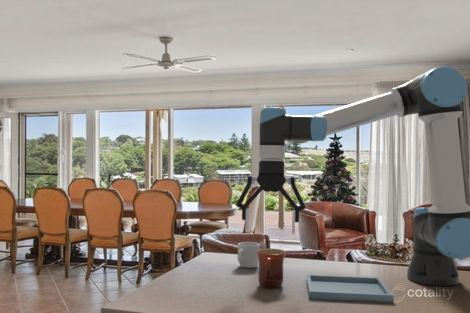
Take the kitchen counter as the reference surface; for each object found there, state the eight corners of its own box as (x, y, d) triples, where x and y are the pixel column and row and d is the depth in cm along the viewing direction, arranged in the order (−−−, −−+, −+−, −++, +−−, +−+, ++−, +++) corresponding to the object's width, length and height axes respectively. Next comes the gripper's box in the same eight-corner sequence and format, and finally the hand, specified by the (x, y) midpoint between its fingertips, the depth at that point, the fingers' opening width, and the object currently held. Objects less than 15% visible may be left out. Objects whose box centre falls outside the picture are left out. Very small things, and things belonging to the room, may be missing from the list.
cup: (248, 272, 147) (249, 248, 147) (228, 268, 151) (229, 245, 151) (264, 266, 156) (264, 243, 156) (244, 262, 160) (245, 240, 161)
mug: (258, 281, 137) (258, 247, 137) (286, 283, 135) (287, 249, 135) (252, 292, 125) (252, 256, 125) (283, 294, 123) (283, 257, 123)
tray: (379, 284, 135) (379, 277, 135) (393, 303, 117) (393, 295, 117) (306, 280, 138) (306, 274, 138) (309, 298, 120) (309, 291, 120)
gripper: (313, 161, 132) (312, 232, 132) (231, 159, 135) (229, 228, 135) (315, 161, 125) (313, 236, 125) (228, 159, 128) (226, 232, 128)
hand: (270, 232), depth 130 cm, fingers open, 13 cm apart
